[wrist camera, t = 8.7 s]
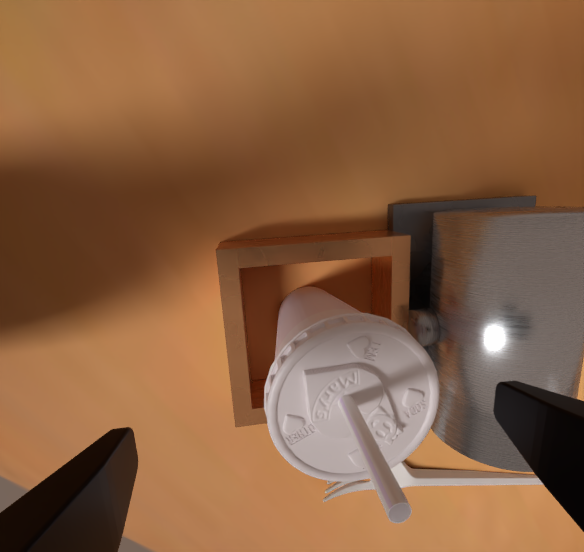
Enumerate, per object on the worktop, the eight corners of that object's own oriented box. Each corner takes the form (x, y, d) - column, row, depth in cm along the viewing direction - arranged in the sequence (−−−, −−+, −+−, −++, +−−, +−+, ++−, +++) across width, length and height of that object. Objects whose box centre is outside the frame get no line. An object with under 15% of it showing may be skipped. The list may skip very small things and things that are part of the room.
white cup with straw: (301, 243, 20) (414, 338, 7) (377, 305, 22) (596, 485, 8) (235, 325, 21) (214, 567, 7) (314, 380, 22) (419, 663, 9)
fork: (546, 489, 28) (567, 509, 26) (315, 485, 25) (321, 508, 23) (559, 455, 28) (581, 473, 26) (324, 446, 24) (331, 466, 22)
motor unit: (239, 417, 22) (235, 530, 15) (217, 215, 19) (198, 227, 12) (506, 382, 24) (623, 465, 17) (525, 195, 21) (679, 195, 14)
